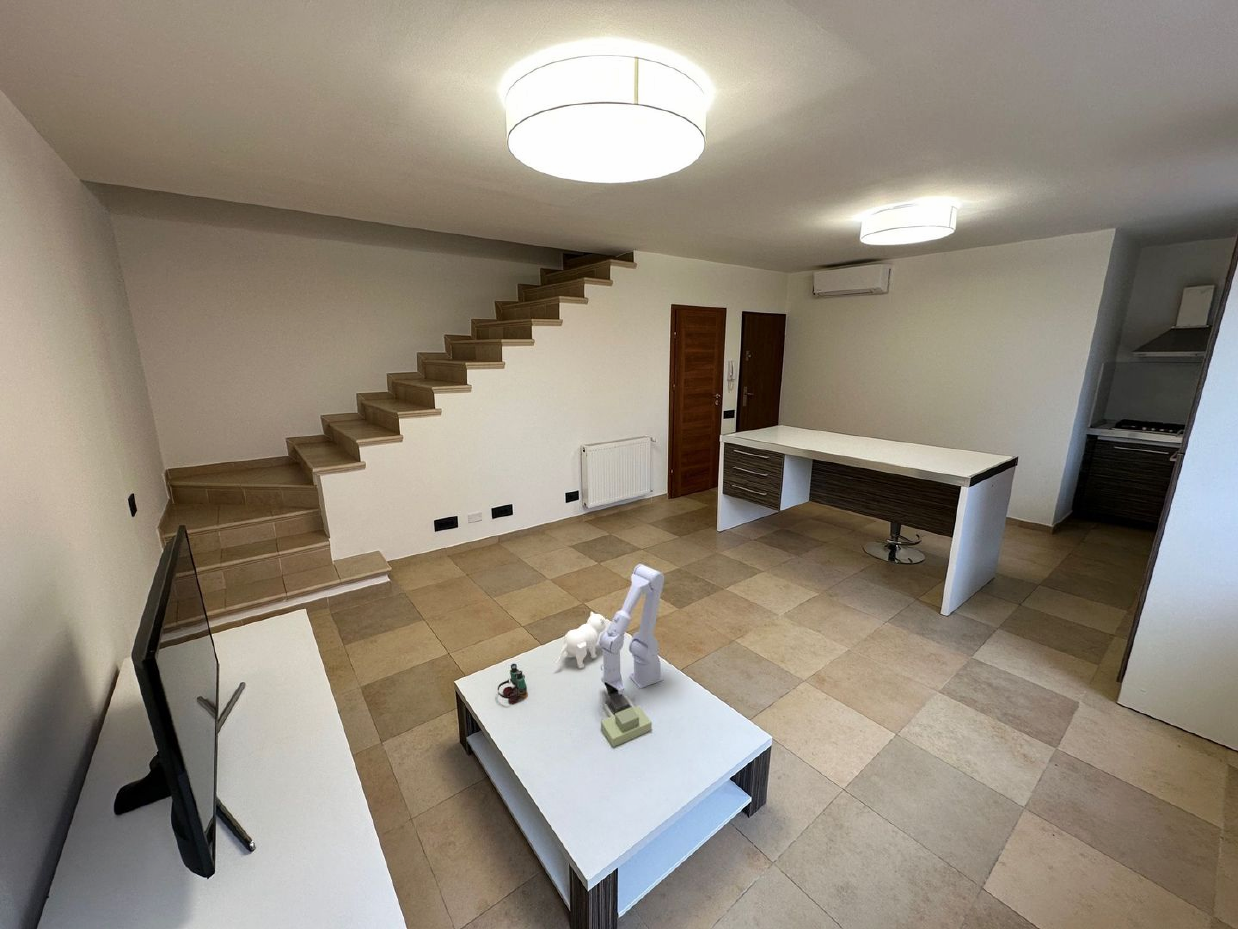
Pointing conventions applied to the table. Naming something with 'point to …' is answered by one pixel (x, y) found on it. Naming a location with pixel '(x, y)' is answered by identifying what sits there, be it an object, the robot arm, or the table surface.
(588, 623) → the cat figurine
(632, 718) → the green post base
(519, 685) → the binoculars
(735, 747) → the table surface
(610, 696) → the grey overhanging lid block
